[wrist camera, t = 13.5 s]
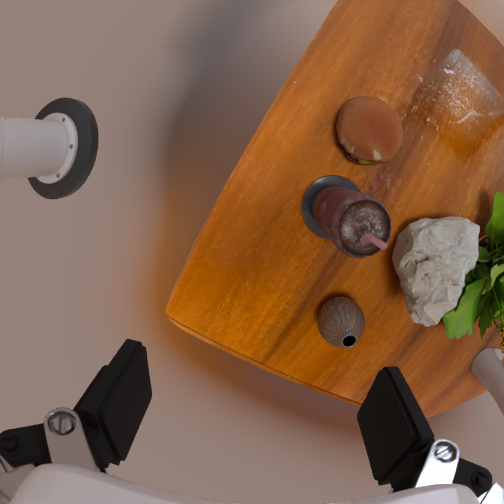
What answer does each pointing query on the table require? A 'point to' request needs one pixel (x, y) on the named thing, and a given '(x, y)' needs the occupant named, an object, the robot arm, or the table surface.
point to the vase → (341, 322)
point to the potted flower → (483, 282)
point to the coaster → (310, 194)
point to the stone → (434, 264)
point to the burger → (369, 130)
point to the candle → (491, 373)
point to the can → (352, 220)
